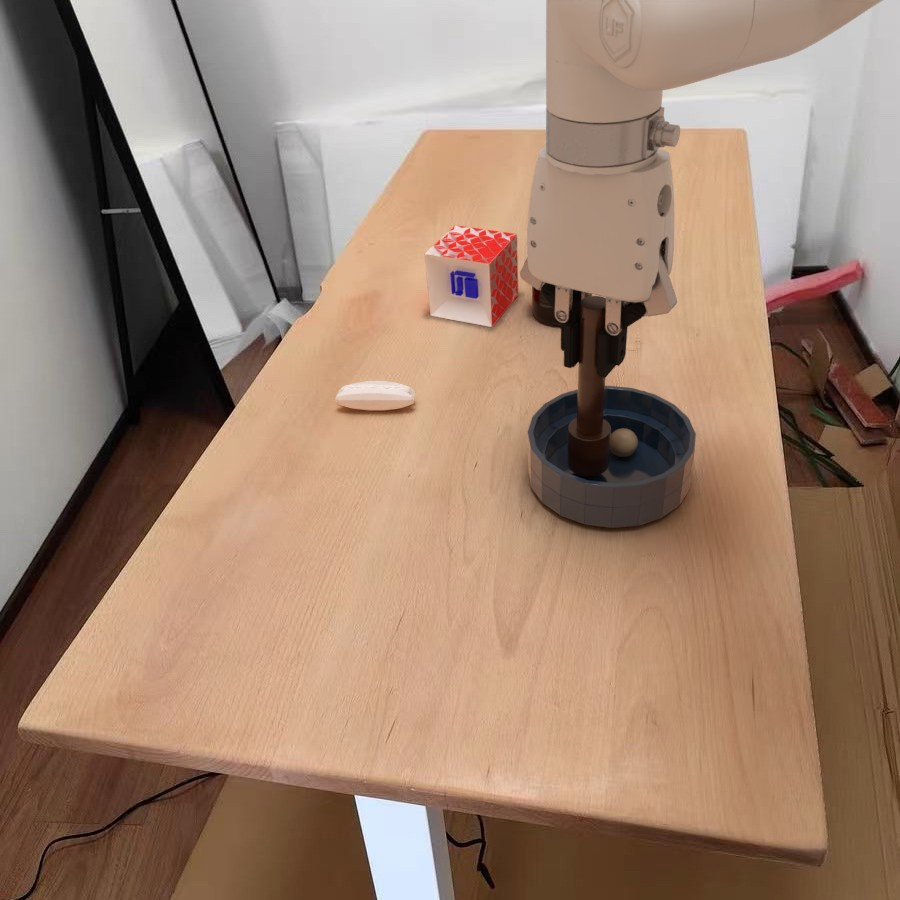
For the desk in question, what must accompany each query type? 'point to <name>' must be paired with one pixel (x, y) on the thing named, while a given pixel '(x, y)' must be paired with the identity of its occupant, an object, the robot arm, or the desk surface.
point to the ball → (623, 442)
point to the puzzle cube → (472, 275)
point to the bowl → (614, 460)
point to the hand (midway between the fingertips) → (592, 362)
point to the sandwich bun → (375, 396)
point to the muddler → (589, 397)
